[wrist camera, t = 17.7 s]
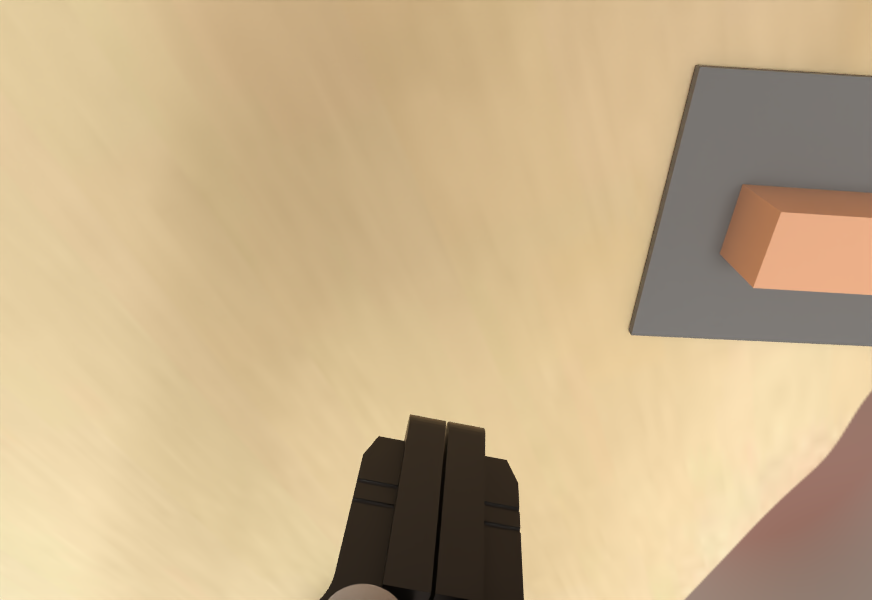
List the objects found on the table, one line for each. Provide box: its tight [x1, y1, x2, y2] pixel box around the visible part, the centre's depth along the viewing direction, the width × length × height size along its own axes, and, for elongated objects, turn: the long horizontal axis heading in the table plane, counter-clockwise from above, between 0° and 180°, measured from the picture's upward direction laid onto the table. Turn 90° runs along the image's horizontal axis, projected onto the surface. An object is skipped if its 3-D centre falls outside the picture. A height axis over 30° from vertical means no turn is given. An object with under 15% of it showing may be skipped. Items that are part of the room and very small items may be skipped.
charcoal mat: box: [629, 65, 872, 346], centre depth 37 cm, size 17×18×1 cm
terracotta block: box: [720, 184, 872, 295], centre depth 35 cm, size 4×4×12 cm
